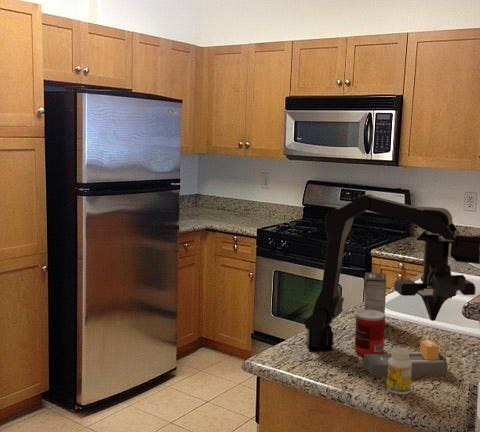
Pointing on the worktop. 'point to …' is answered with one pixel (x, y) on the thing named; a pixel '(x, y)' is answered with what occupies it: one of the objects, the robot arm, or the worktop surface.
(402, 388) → the supplement bottle
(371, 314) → the canned food
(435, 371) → the switch base
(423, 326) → the worktop surface
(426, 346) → the switch slider
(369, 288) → the coffee box
